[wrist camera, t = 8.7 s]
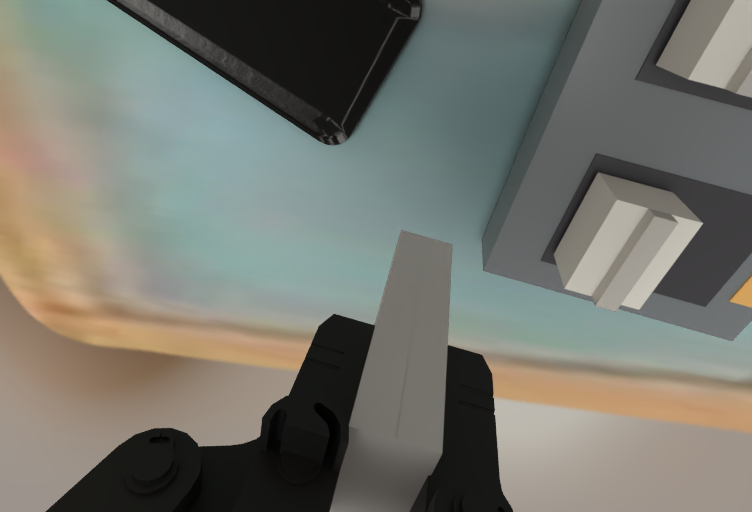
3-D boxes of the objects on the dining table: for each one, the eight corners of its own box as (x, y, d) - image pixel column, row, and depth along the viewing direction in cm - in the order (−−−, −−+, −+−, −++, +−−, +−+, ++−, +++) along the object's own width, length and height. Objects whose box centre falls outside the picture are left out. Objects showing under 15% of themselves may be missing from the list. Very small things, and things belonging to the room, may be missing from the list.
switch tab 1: (598, 172, 17) (622, 207, 14) (673, 192, 17) (711, 231, 14) (553, 254, 19) (567, 298, 17) (619, 272, 19) (644, 319, 16)
